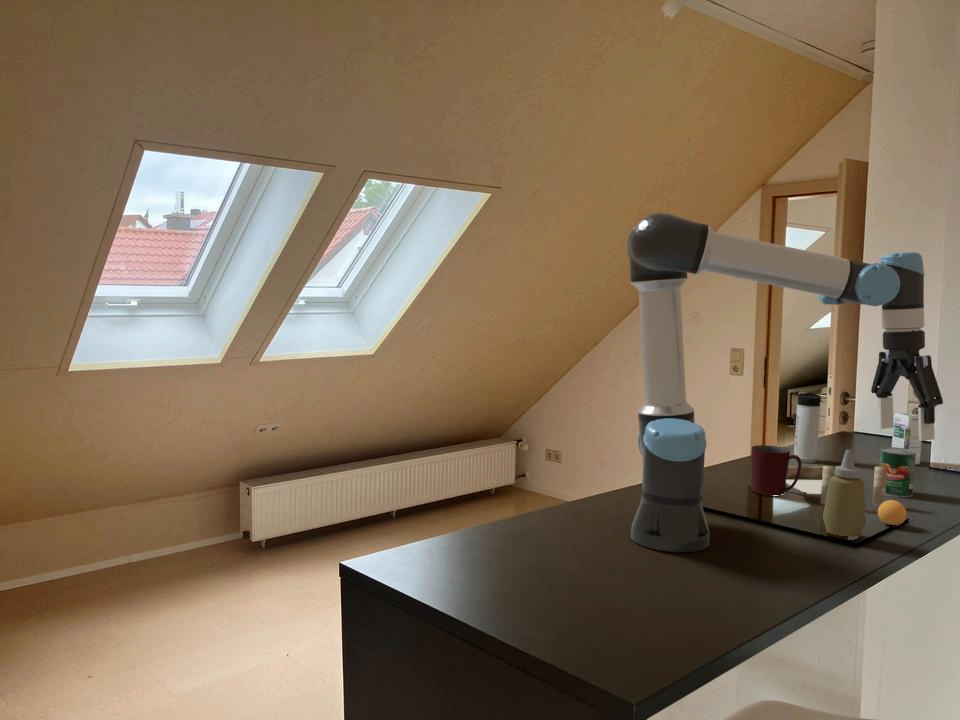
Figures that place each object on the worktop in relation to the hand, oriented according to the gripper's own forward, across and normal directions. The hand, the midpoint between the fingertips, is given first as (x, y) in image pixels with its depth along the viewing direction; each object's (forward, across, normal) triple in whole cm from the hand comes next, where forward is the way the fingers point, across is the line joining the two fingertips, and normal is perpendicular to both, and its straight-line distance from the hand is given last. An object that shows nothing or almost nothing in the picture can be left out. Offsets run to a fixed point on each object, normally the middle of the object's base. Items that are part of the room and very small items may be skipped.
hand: (905, 433), depth 162 cm
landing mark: (+21, +40, -2) cm, 45 cm away
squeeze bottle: (+20, 0, +14) cm, 25 cm away
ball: (+19, +8, -2) cm, 20 cm away
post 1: (+21, +24, +5) cm, 32 cm away
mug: (+20, +33, +13) cm, 41 cm away
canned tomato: (+23, +35, -18) cm, 46 cm away
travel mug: (+22, +71, -13) cm, 75 cm away
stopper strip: (+21, +50, -2) cm, 54 cm away
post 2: (+22, +24, -8) cm, 33 cm away
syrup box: (+24, +70, -43) cm, 85 cm away
